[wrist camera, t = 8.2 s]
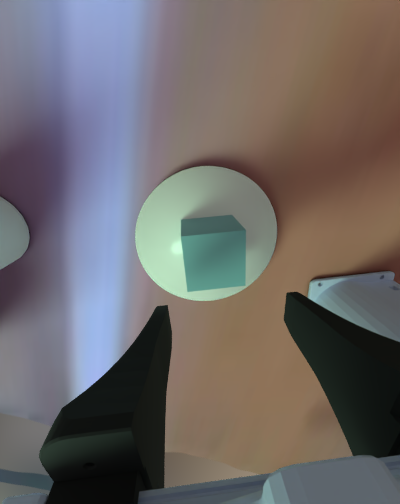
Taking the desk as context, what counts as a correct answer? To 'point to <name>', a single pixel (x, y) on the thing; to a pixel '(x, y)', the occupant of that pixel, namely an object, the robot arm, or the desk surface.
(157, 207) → the dish
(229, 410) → the desk surface
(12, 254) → the spray bottle
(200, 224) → the teal block
